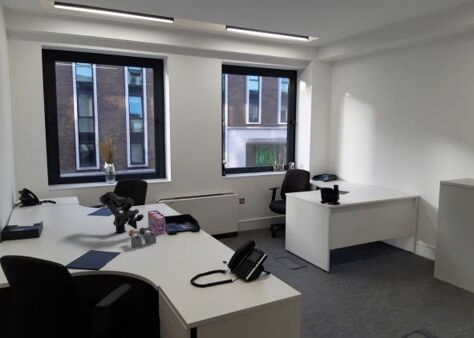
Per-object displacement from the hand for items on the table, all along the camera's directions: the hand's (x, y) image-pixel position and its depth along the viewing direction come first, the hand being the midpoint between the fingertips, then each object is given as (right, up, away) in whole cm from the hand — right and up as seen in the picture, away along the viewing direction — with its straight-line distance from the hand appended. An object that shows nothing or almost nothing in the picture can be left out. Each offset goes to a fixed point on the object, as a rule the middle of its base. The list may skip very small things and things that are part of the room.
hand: (136, 228), depth 271 cm
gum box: (+10, -5, +21) cm, 24 cm away
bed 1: (+5, -10, -17) cm, 20 cm away
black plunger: (+9, -4, -7) cm, 12 cm away
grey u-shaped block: (+13, -9, -10) cm, 18 cm away
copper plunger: (+2, -4, -13) cm, 14 cm away
